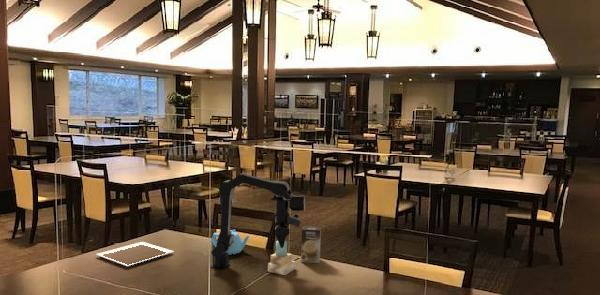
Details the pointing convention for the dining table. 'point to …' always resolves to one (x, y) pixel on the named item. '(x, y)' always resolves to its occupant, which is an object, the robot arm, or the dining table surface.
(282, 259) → the oak top block
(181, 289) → the dining table surface
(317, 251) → the coffee box
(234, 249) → the teapot
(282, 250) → the teal cylinder
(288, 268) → the birch base block
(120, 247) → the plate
